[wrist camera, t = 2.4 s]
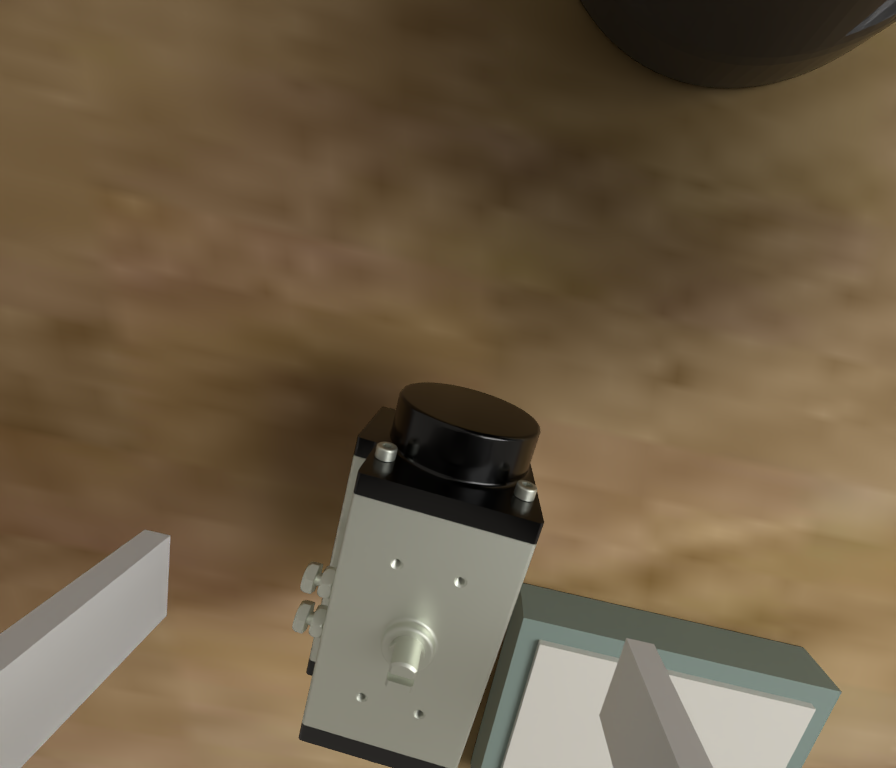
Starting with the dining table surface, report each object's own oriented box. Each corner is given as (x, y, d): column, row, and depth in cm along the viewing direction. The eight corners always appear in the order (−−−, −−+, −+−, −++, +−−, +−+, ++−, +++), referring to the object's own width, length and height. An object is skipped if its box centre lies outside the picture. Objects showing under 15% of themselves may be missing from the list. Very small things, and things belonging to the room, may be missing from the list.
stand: (520, 582, 23) (524, 622, 20) (803, 647, 22) (846, 697, 20) (470, 761, 26) (468, 816, 24) (718, 823, 26) (745, 887, 23)
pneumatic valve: (524, 373, 20) (572, 493, 9) (461, 577, 23) (435, 869, 12) (413, 343, 21) (316, 422, 9) (363, 549, 24) (242, 810, 12)
